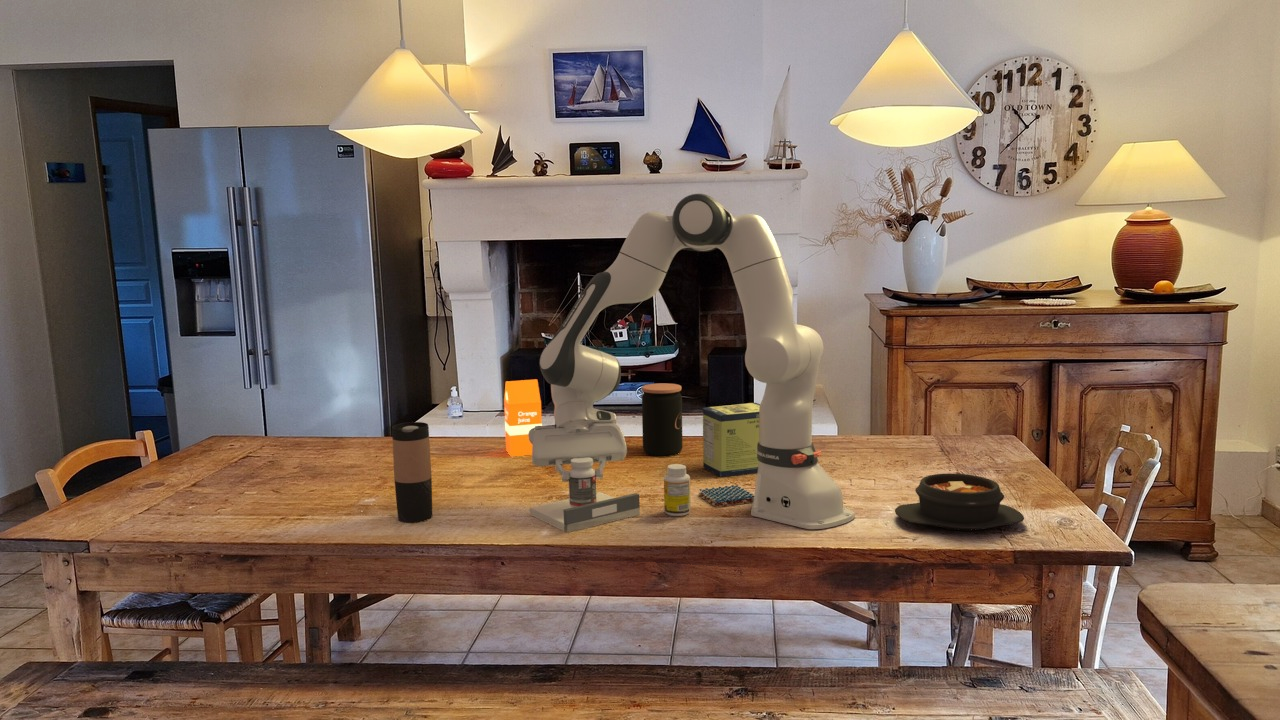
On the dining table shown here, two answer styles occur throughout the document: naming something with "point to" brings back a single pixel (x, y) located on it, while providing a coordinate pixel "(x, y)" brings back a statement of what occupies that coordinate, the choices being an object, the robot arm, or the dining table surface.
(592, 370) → the robot arm
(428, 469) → the travel mug
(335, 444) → the dining table surface
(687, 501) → the supplement bottle
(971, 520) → the casserole
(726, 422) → the protein box
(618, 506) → the shelf
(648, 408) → the coffee jar
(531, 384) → the orange juice
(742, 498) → the woven mat
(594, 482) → the pill bottle
